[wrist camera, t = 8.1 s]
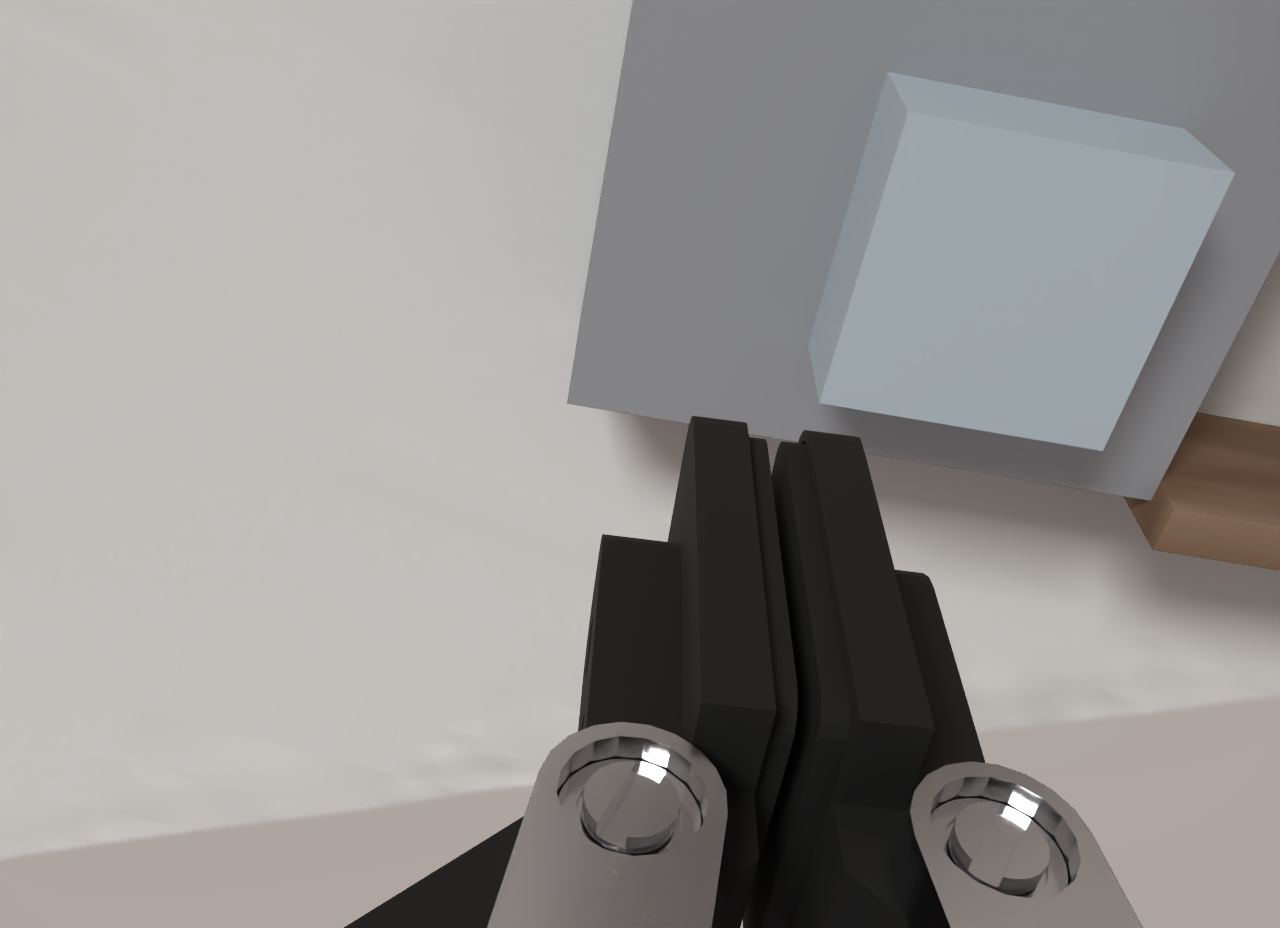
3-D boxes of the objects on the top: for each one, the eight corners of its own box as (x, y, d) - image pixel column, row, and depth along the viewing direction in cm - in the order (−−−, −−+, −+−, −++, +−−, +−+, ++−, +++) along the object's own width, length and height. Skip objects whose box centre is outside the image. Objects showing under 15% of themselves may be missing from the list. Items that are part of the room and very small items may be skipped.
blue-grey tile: (887, 71, 22) (908, 111, 20) (1184, 128, 23) (1234, 173, 21) (807, 345, 26) (819, 403, 24) (1069, 390, 26) (1102, 450, 24)
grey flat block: (745, -677, 20) (758, -751, 16) (1521, -493, 21) (1683, -527, 17) (580, 323, 30) (566, 403, 27) (1100, 413, 31) (1150, 500, 28)
